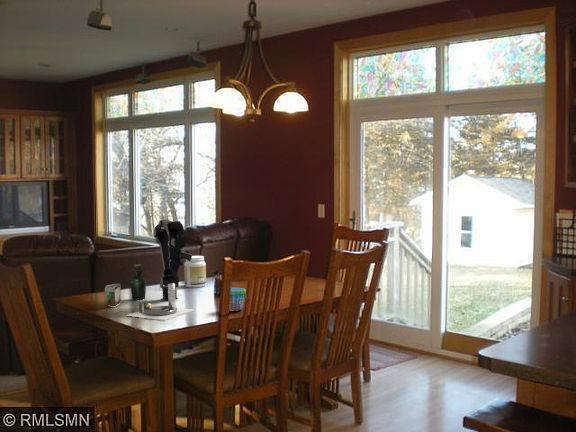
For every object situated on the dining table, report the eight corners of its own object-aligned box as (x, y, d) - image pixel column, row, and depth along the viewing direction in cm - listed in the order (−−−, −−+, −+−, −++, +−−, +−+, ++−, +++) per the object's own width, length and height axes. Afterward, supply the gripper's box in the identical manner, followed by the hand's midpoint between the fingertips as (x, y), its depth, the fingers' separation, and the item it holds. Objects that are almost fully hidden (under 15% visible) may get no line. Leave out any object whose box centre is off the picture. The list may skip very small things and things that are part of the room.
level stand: (126, 316, 294) (125, 305, 294) (156, 307, 314) (155, 296, 313) (165, 320, 284) (164, 308, 284) (193, 310, 304) (193, 299, 304)
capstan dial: (139, 311, 301) (138, 282, 300) (169, 306, 309) (168, 279, 308) (151, 316, 289) (150, 287, 288) (182, 312, 297) (181, 284, 296)
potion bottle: (139, 297, 339) (138, 263, 338) (150, 298, 335) (149, 264, 334) (127, 300, 333) (126, 265, 331) (138, 301, 328) (137, 266, 327)
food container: (108, 303, 325) (108, 283, 324) (121, 303, 325) (120, 283, 324) (102, 308, 312) (101, 288, 312) (114, 308, 312) (114, 287, 312)
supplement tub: (210, 285, 373) (209, 256, 372) (197, 288, 362) (196, 258, 361) (193, 283, 379) (193, 254, 378) (180, 286, 369) (179, 257, 368)
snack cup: (238, 306, 313) (237, 285, 312) (254, 309, 306) (253, 287, 305) (214, 312, 301) (214, 290, 300) (230, 315, 294) (230, 292, 294)
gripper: (192, 248, 312) (193, 280, 313) (189, 244, 330) (190, 274, 331) (169, 249, 309) (170, 281, 310) (167, 244, 327) (168, 275, 328)
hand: (175, 277), depth 320 cm, fingers closed
